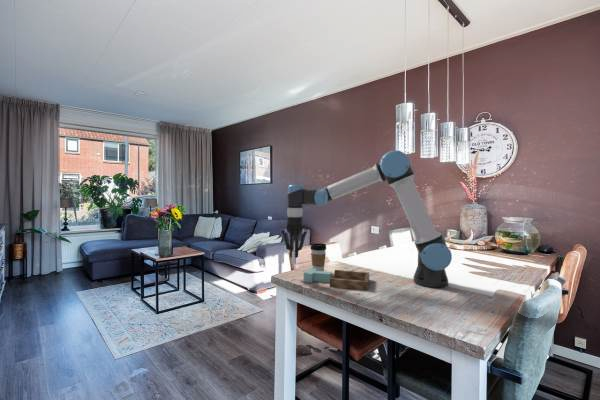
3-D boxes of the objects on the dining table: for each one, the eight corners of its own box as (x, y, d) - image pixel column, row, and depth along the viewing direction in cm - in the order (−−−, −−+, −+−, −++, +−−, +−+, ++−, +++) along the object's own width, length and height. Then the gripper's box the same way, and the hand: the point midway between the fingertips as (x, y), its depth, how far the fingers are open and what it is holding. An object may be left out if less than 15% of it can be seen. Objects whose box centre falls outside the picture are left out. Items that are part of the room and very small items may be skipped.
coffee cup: (325, 274, 156) (325, 245, 156) (308, 273, 158) (309, 245, 158) (326, 270, 165) (327, 242, 164) (311, 269, 166) (311, 242, 166)
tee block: (332, 278, 150) (332, 270, 150) (328, 284, 141) (328, 275, 141) (308, 276, 154) (308, 268, 153) (303, 282, 144) (303, 273, 144)
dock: (369, 279, 149) (369, 272, 148) (367, 290, 133) (367, 282, 133) (335, 276, 153) (335, 269, 153) (329, 286, 138) (329, 278, 137)
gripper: (309, 216, 151) (308, 263, 152) (284, 215, 155) (283, 261, 155) (305, 217, 144) (304, 267, 145) (279, 216, 147) (278, 264, 148)
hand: (293, 263), depth 150 cm, fingers closed
